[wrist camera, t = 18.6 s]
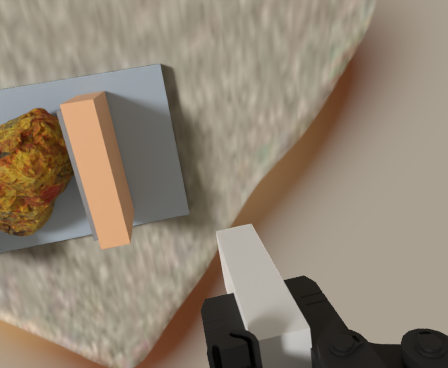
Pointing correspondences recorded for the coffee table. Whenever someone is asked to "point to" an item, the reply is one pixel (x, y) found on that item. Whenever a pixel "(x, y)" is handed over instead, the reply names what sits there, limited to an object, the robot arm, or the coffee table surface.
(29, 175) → the rock
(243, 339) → the robot arm
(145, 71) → the base
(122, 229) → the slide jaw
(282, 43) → the coffee table surface
